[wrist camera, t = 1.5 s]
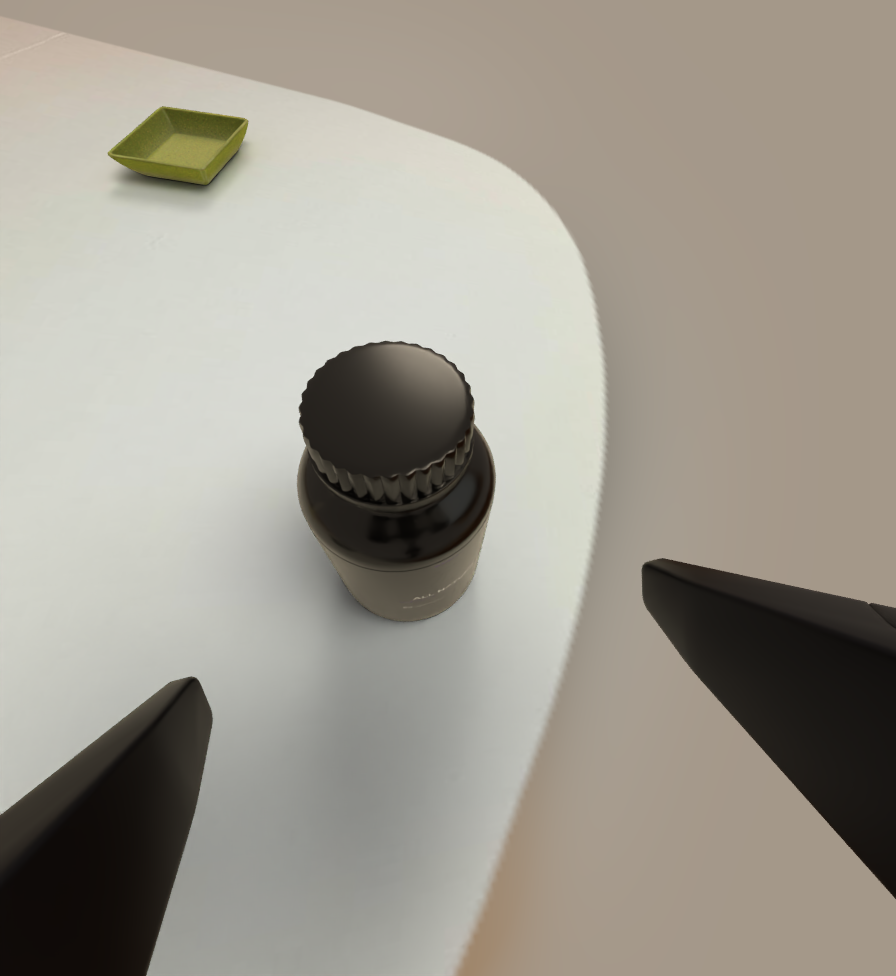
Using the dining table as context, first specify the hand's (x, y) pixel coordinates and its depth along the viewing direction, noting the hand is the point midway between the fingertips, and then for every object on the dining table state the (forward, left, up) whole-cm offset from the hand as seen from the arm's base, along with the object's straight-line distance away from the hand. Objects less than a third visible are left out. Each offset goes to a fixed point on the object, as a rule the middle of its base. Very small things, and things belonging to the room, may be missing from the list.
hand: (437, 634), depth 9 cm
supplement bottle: (+6, 0, -12) cm, 14 cm away
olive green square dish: (+47, +12, -12) cm, 50 cm away
